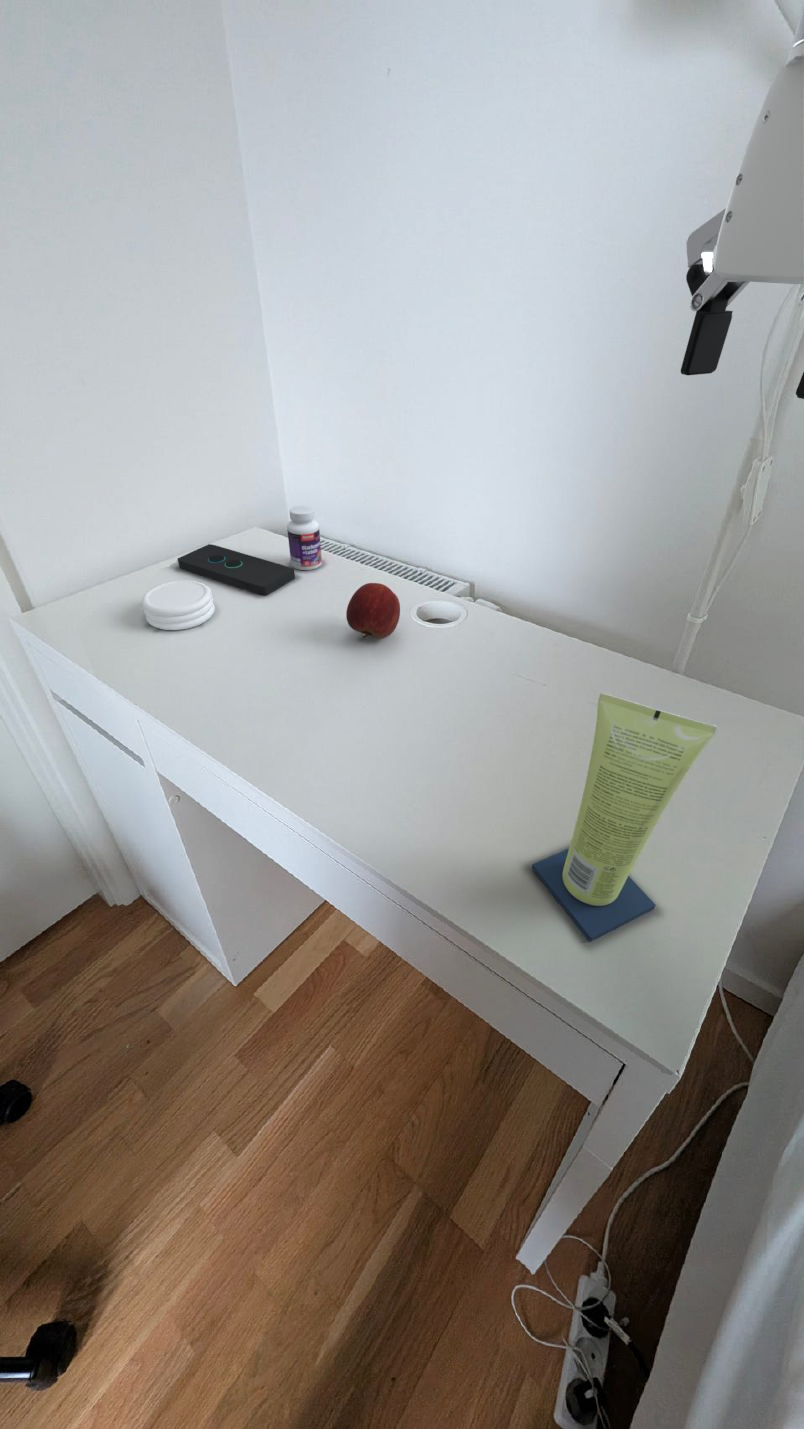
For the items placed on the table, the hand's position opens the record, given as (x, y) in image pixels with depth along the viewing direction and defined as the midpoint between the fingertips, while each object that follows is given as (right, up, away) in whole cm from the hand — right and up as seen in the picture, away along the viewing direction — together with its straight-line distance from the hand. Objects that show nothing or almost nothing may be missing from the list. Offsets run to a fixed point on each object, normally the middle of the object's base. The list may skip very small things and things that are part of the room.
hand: (750, 384), depth 42 cm
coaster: (-59, -9, +46) cm, 75 cm away
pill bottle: (-42, +3, +61) cm, 74 cm away
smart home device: (-54, 0, +58) cm, 79 cm away
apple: (-29, -12, +42) cm, 53 cm away
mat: (-8, -39, +9) cm, 41 cm away
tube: (-8, -39, +9) cm, 41 cm away
